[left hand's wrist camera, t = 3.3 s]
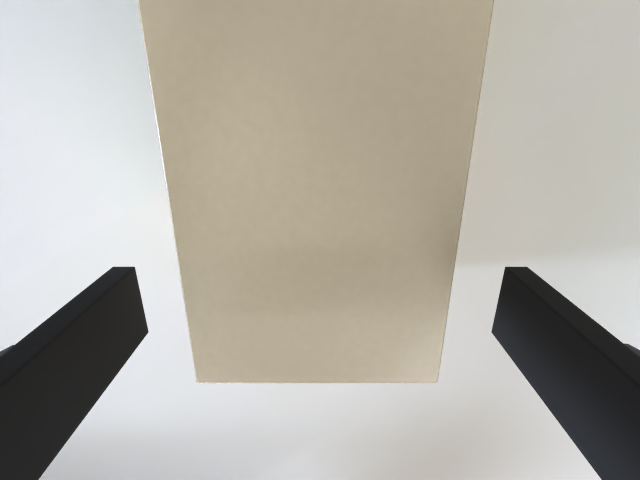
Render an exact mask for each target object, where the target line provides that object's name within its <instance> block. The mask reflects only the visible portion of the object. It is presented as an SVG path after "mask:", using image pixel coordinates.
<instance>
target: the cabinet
mask: <svg viewBox="0 0 640 480" xmlns="http://www.w3.org/2000/svg"><path fill="white" fill-rule="evenodd" d="M493 2H494V0H138V7H139V13H140V20H141V26H142V32H143V39H144V45H145V52H146V58H147V65H148V71H149V78H150V84H151V91H152V97H153V104H154V110H155V116H156V123H157V129H158V136H159V142H160V149H161V155H162V162H163V168H164V175H165V181H166V187H167V194H168V200H169V207H170V213H171V220H172V226H173V233H174V239H175V246H176V252H177V259H178V265H179V271H180V278H181V284H182V291H183V297H184V304H185V310H186V317H187V323H188V330H189V336H190V343H191V349H192V355H193V362H194V368H195V375H196V381H197V383H436V382H438V375H439V368H440V362H441V355H442V348H443V341H444V335H445V328H446V321H447V314H448V307H449V301H450V294H451V287H452V280H453V273H454V267H455V260H456V253H457V246H458V240H459V233H460V226H461V219H462V212H463V206H464V199H465V192H466V185H467V178H468V172H469V165H470V158H471V151H472V145H473V138H474V131H475V124H476V117H477V111H478V104H479V97H480V90H481V84H482V77H483V70H484V63H485V56H486V50H487V43H488V36H489V29H490V22H491V16H492V9H493Z"/></svg>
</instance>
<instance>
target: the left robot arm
mask: <svg viewBox="0 0 640 480" xmlns="http://www.w3.org/2000/svg"><path fill="white" fill-rule="evenodd" d="M147 333H148V328H147V323H146V318H145V313H144V309H143V304H142V299H141V294H140V290H139V285H138V280H137V276H136V271H135V267H112V268H111V269H110V270H109V271H107V272H106V273H105V274H104V275H102V276H101V277H100V278H99V279H97V280H96V281H95V282H93V283H92V284H91V285H90V286H88V287H87V288H86V289H85V290H83V291H82V292H81V293H80V294H78V295H77V296H76V297H75V298H73V299H72V300H71V301H70V302H68V303H67V304H66V305H65V306H63V307H62V308H61V309H60V310H58V311H57V312H56V313H55V314H53V315H52V316H51V317H49V318H48V319H47V320H46V321H44V322H43V323H42V324H41V325H39V326H38V327H37V328H36V329H34V330H33V331H32V332H31V333H29V334H28V335H27V336H26V337H24V338H23V339H22V340H21V341H19V342H18V343H17V344H16V345H12V346H10V347H8V348H6V349H5V350H3V351H1V352H0V480H38V479H39V478H40V477H41V475H42V474H43V473H44V471H45V470H46V469H47V467H48V466H49V465H50V463H51V462H52V461H53V459H54V458H55V457H56V455H57V454H58V453H59V451H60V450H61V449H62V447H63V446H64V444H65V443H66V442H67V440H68V439H69V438H70V436H71V435H72V434H73V432H74V431H75V430H76V428H77V427H78V426H79V424H80V423H81V422H82V420H83V419H84V418H85V416H86V415H87V414H88V412H89V411H90V410H91V408H92V407H93V406H94V404H95V403H96V402H97V400H98V399H99V398H100V396H101V395H102V394H103V392H104V391H105V390H106V388H107V387H108V386H109V384H110V383H111V382H112V380H113V379H114V378H115V376H116V375H117V374H118V372H119V371H120V369H121V368H122V367H123V365H124V364H125V363H126V361H127V360H128V359H129V357H130V356H131V355H132V353H133V352H134V351H135V349H136V348H137V347H138V345H139V344H140V343H141V341H142V340H143V339H144V337H145V336H146V335H147ZM492 333H493V335H494V336H495V337H496V339H497V340H498V341H499V343H500V344H501V345H502V347H503V348H504V349H505V351H506V352H507V353H508V355H509V356H510V357H511V359H512V360H513V361H514V363H515V364H516V365H517V367H518V368H519V369H520V371H521V372H522V374H523V375H524V376H525V378H526V379H527V380H528V382H529V383H530V384H531V386H532V387H533V388H534V390H535V391H536V392H537V394H538V395H539V396H540V398H541V399H542V400H543V402H544V403H545V404H546V406H547V407H548V408H549V410H550V411H551V412H552V414H553V415H554V416H555V418H556V419H557V420H558V422H559V423H560V424H561V426H562V427H563V428H564V430H565V431H566V432H567V434H568V435H569V436H570V438H571V439H572V440H573V442H574V443H575V444H576V446H577V447H578V449H579V450H580V451H581V453H582V454H583V455H584V457H585V458H586V459H587V461H588V462H589V463H590V465H591V466H592V467H593V469H594V470H595V471H596V473H597V474H598V475H599V477H600V478H601V479H602V480H640V350H638V349H636V348H635V347H633V346H631V345H629V344H623V343H622V342H621V341H619V340H618V339H617V338H616V337H614V336H613V335H612V334H611V333H609V332H608V331H607V330H606V329H604V328H603V327H602V326H601V325H599V324H598V323H597V322H596V321H594V320H593V319H592V318H591V317H589V316H588V315H587V314H585V313H584V312H583V311H582V310H580V309H579V308H578V307H577V306H575V305H574V304H573V303H572V302H570V301H569V300H568V299H567V298H565V297H564V296H563V295H562V294H560V293H559V292H558V291H557V290H555V289H554V288H553V287H552V286H550V285H549V284H548V283H547V282H545V281H544V280H543V279H541V278H540V277H539V276H538V275H536V274H535V273H534V272H533V271H531V270H530V269H529V268H528V267H505V271H504V276H503V280H502V285H501V290H500V294H499V299H498V304H497V309H496V313H495V318H494V323H493V328H492Z"/></svg>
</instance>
